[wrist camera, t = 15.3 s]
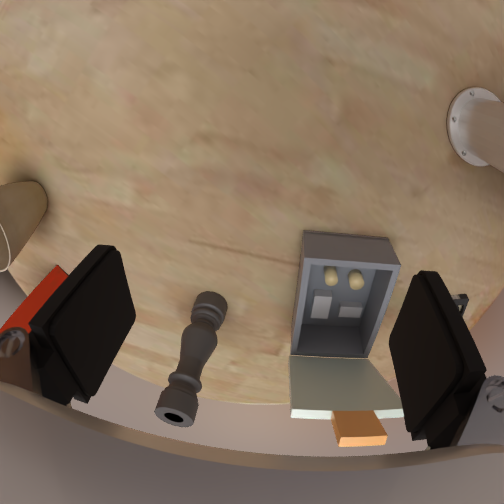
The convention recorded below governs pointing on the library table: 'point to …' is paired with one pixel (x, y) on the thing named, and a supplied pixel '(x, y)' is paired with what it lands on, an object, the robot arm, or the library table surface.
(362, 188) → the library table surface
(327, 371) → the lid
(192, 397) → the candle holder
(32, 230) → the plant pot
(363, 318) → the tub
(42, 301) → the file binder
